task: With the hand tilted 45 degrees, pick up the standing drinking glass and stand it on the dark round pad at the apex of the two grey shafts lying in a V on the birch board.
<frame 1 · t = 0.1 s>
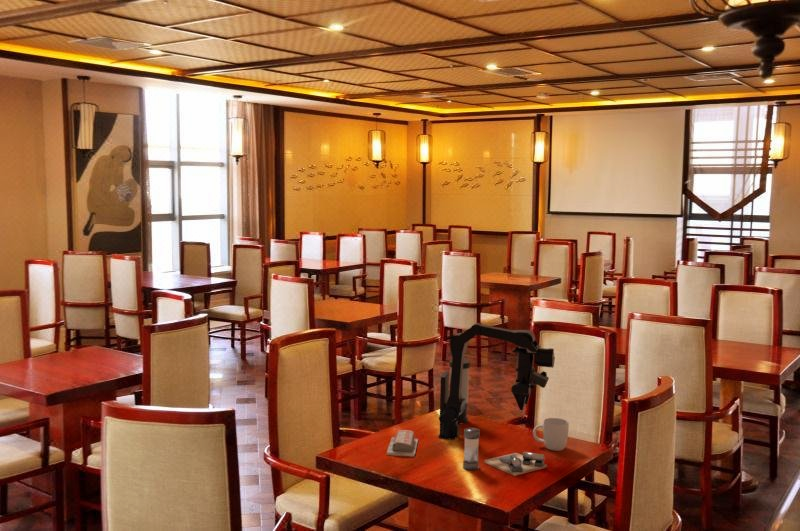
hand: (523, 406, 280), 15 cm above the table, tool pointing down, fingers open, 9 cm apart
shaft b: (515, 471, 255), resting on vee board
light fixture: (454, 421, 311), on the table
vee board: (510, 462, 263), on the table
packaged product: (402, 449, 276), on the table
shaft a: (533, 466, 259), resting on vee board
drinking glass: (470, 467, 257), on the table
mug: (549, 448, 280), on the table
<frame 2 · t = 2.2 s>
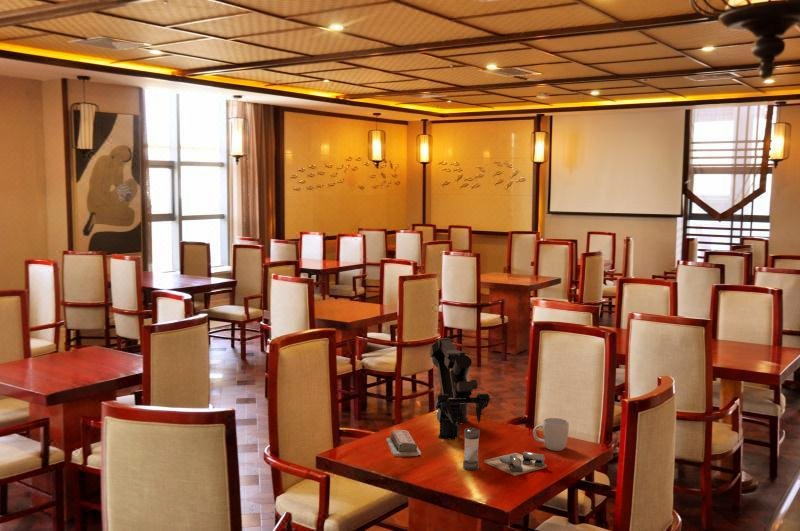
hand: (466, 422, 264), 13 cm above the table, tool tilted 45°, fingers open, 9 cm apart
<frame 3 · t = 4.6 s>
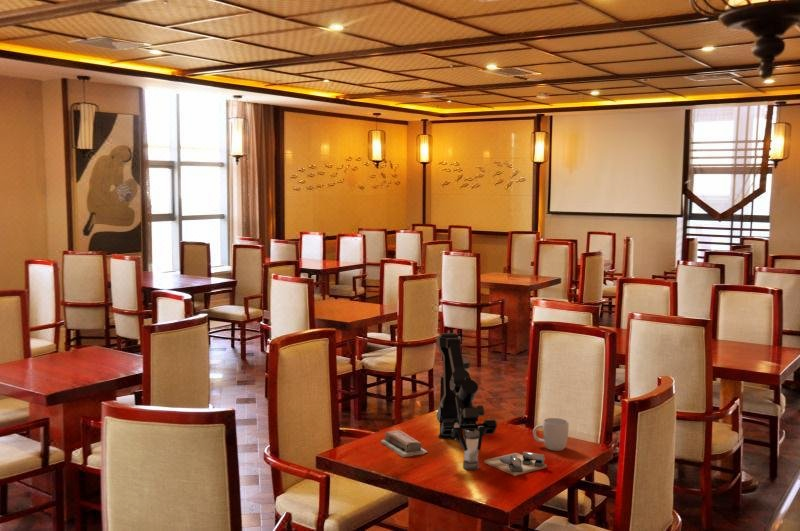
hand: (472, 450, 255), 7 cm above the table, tool tilted 45°, fingers closed on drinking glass, 5 cm apart
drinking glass: (470, 467, 257), on the table, touching gripper
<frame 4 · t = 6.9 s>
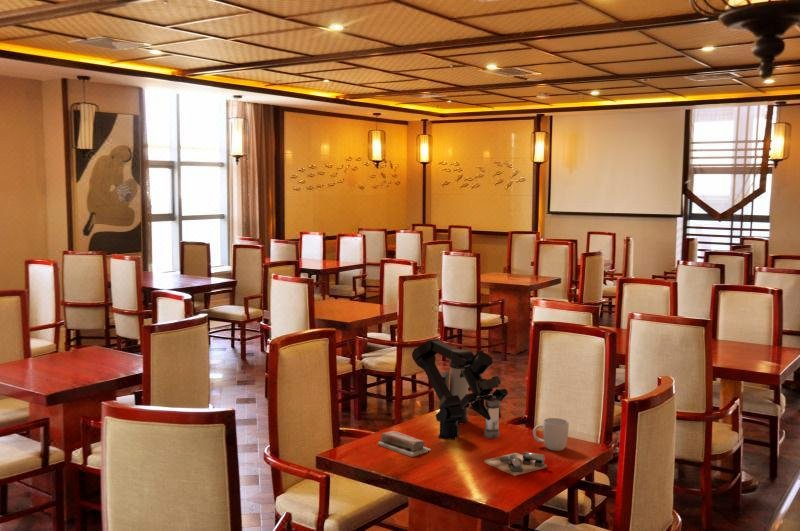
hand: (494, 418, 268), 13 cm above the table, tool tilted 45°, fingers closed on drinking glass, 5 cm apart
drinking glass: (491, 435, 270), point 7 cm above the table, touching gripper
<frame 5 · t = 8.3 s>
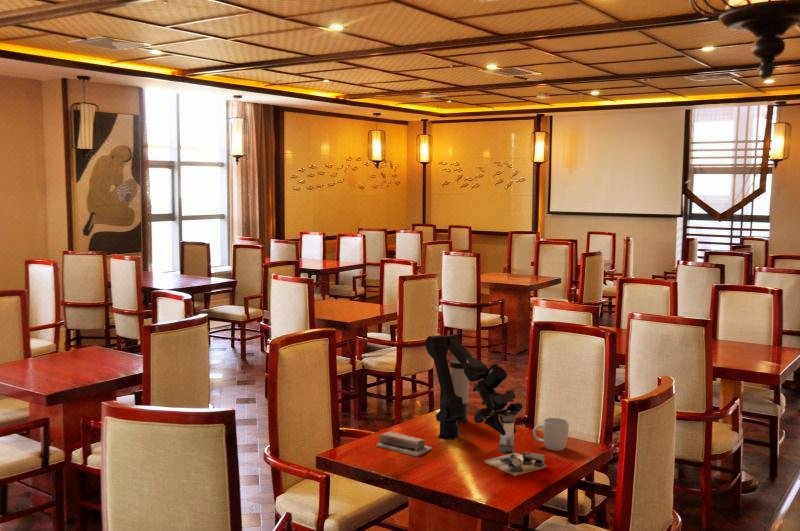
hand: (509, 433, 262), 10 cm above the table, tool tilted 45°, fingers closed on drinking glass, 5 cm apart
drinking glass: (506, 451, 264), point 3 cm above the table, touching gripper
when the fingers open (9 cm above the table, at t = 9.2 s): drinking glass drops 1 cm, resting on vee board.
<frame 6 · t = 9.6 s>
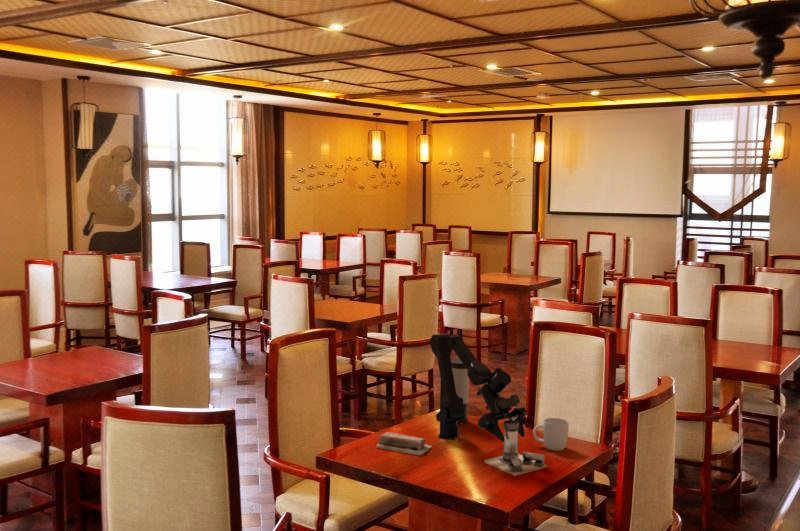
hand: (513, 438, 261), 9 cm above the table, tool tilted 45°, fingers open, 9 cm apart
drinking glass: (510, 459, 262), point 1 cm above the table, touching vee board
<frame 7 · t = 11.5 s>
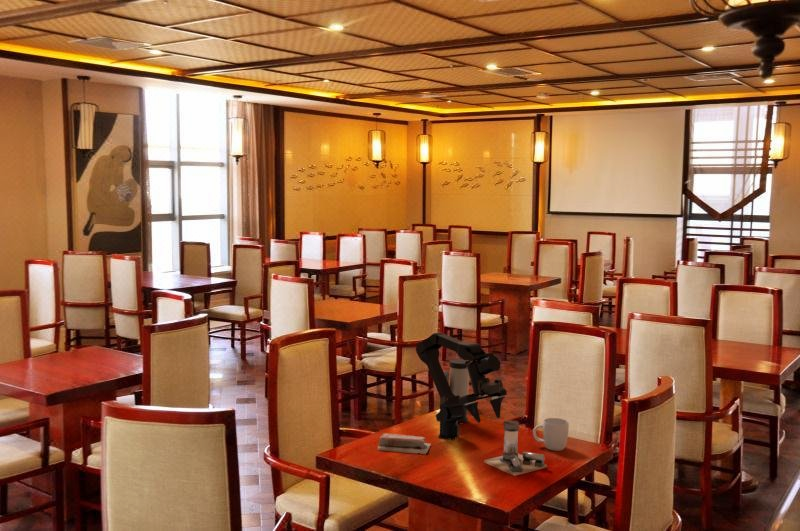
hand: (489, 420, 272), 12 cm above the table, tool tilted 25°, fingers open, 9 cm apart
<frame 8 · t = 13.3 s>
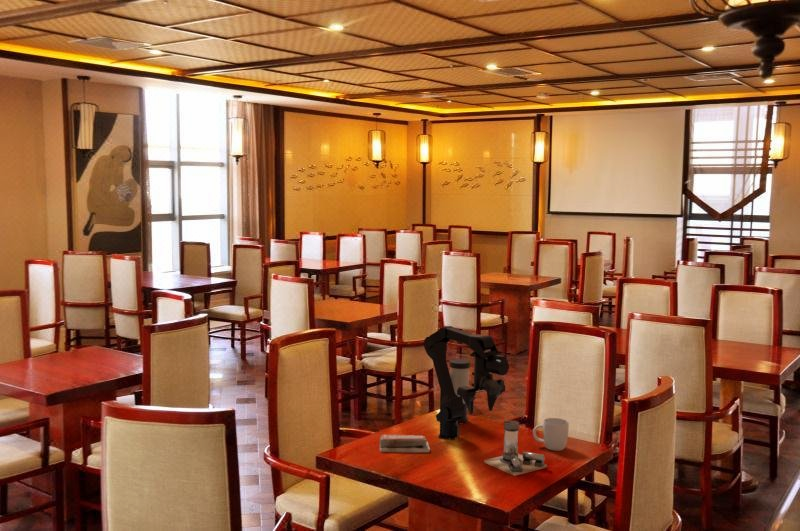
hand: (480, 412, 277), 13 cm above the table, tool pointing down, fingers open, 9 cm apart
at the end: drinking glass 0.1 cm off-centre on the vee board, point 1.1 cm above the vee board's base; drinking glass tilted 0°; the gripper is holding nothing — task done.
